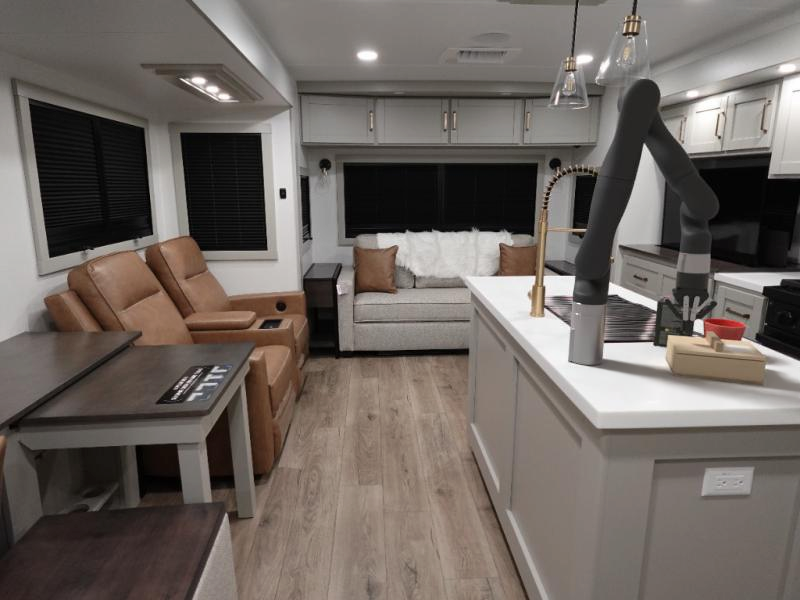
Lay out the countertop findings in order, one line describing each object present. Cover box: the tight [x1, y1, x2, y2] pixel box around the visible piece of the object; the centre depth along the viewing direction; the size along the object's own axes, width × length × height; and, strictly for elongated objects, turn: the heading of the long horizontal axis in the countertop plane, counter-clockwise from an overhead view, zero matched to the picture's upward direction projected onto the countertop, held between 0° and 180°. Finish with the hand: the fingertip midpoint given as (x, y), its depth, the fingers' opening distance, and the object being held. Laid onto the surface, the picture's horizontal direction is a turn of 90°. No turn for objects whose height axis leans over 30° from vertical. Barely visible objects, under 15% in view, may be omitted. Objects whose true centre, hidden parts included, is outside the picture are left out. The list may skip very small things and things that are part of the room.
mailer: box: [665, 339, 767, 386], centre depth 138 cm, size 20×15×6 cm
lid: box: [668, 331, 768, 362], centre depth 137 cm, size 20×15×3 cm
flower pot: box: [702, 317, 747, 341], centre depth 152 cm, size 11×11×10 cm
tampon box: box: [652, 295, 694, 348], centre depth 161 cm, size 11×9×15 cm
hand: (686, 333), depth 139 cm, fingers closed
